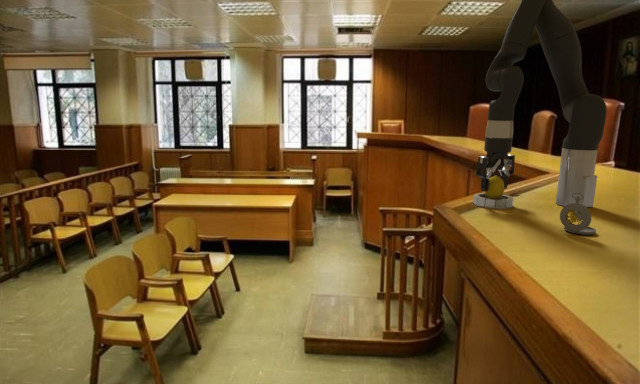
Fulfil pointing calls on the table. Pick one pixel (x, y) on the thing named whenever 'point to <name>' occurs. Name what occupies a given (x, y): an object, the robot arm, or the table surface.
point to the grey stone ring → (493, 201)
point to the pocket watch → (577, 217)
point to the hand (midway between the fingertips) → (493, 189)
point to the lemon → (495, 188)
